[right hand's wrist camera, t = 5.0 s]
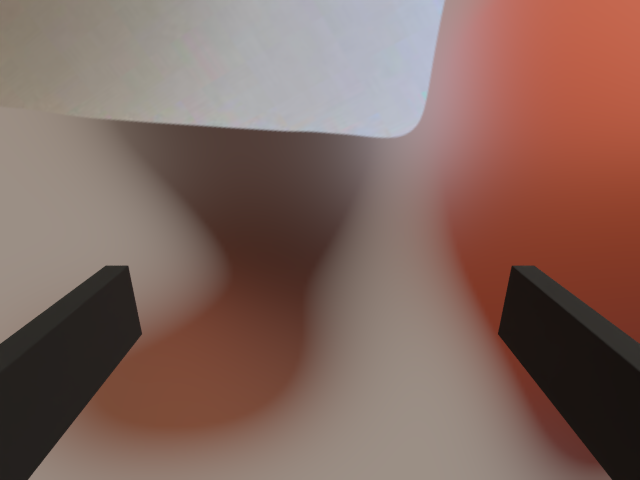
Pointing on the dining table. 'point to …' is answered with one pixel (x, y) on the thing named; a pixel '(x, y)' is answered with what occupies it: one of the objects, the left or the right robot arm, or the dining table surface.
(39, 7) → the dining table surface
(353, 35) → the dining table surface
